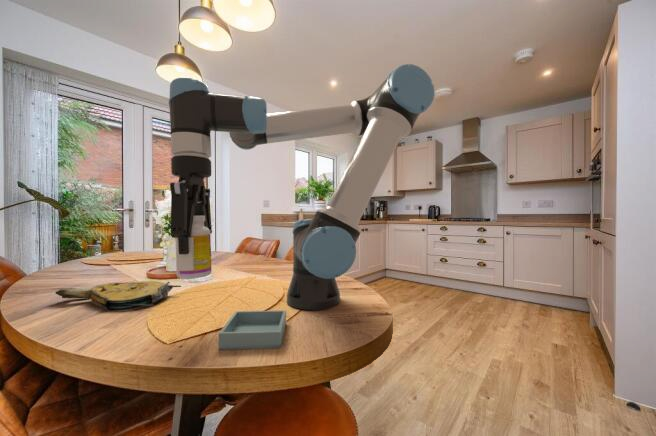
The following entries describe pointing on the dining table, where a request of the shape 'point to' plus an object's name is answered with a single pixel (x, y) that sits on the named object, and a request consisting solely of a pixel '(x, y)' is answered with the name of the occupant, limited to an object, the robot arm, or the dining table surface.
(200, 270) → the supplement bottle
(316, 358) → the dining table surface
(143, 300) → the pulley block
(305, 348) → the dining table surface
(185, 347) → the dining table surface
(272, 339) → the tray
